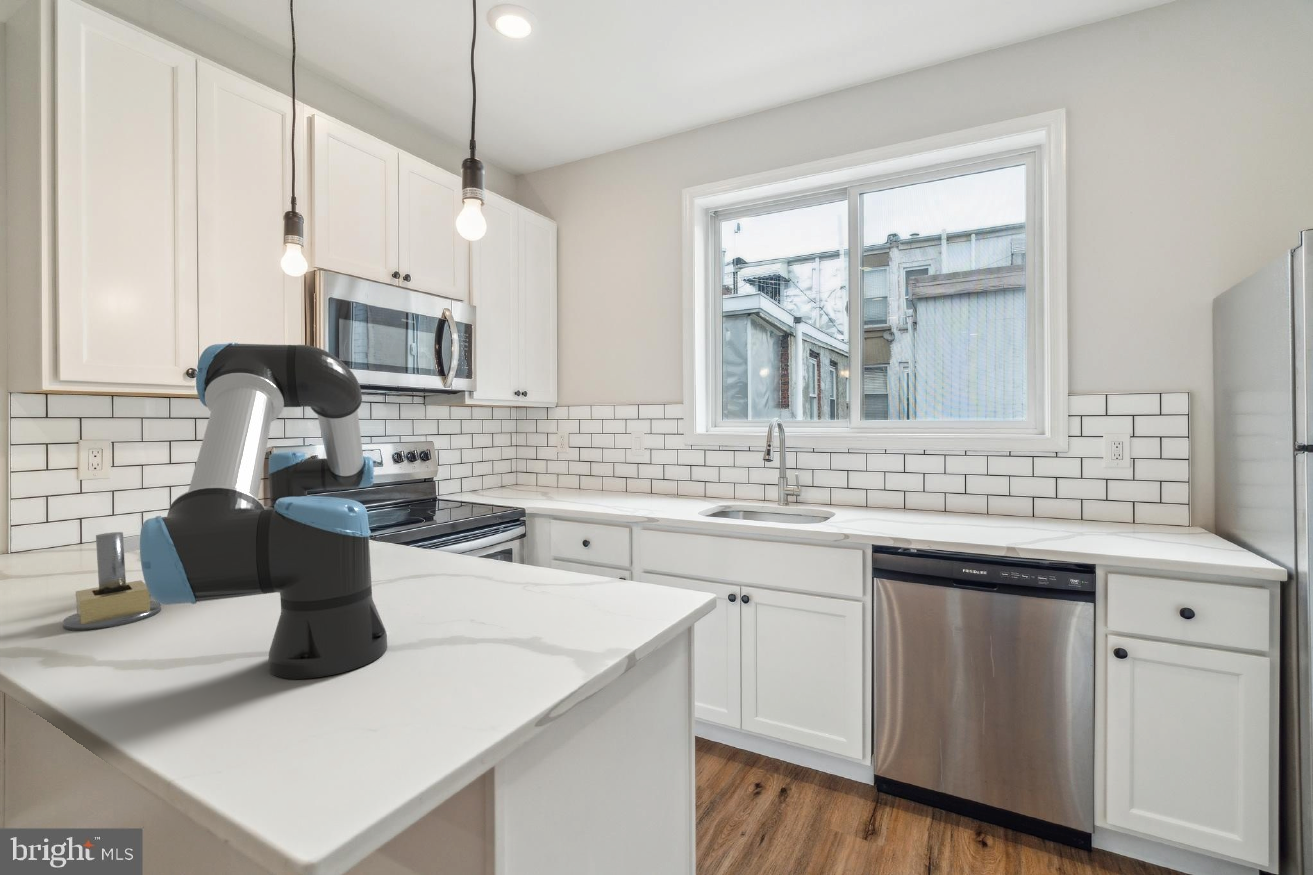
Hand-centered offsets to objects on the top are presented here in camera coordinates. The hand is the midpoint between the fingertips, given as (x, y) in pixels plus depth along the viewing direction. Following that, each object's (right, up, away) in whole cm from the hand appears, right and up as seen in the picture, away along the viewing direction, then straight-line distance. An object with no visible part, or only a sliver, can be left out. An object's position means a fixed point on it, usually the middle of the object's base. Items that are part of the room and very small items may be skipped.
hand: (145, 547), depth 115 cm
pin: (-1, -11, -5) cm, 12 cm away
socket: (-1, -12, -5) cm, 13 cm away
